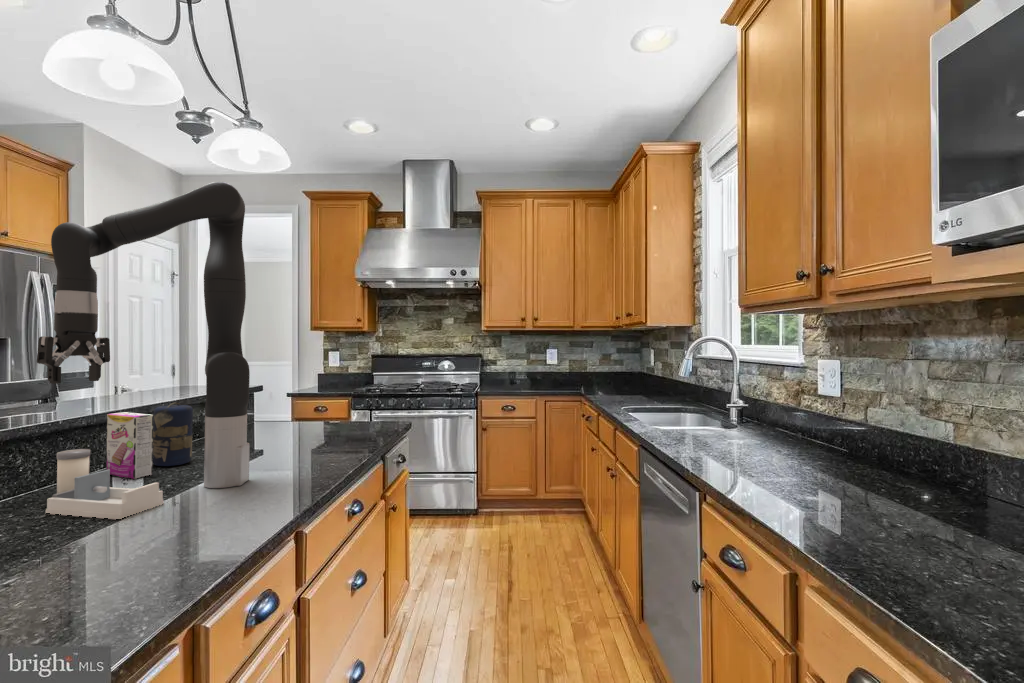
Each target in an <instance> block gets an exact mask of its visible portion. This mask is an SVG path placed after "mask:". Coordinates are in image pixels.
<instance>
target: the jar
mask: <svg viewBox="0 0 1024 683" xmlns="http://www.w3.org/2000/svg"><path fill="white" fill-rule="evenodd" d="M90 457H91V449H90V448H76V449H68V450H61V451H58V452H56V460H57V462H56V463H57V466H56V467H57V468H56V469H57V470H56V474H57V475H56V494H58V493H61V492H65V491H69V490H72V489H74V485H75V478H76V477H80V476H84V475H88V474H90Z"/></svg>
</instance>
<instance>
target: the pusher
mask: <svg viewBox="0 0 1024 683" xmlns="http://www.w3.org/2000/svg"><path fill="white" fill-rule="evenodd" d="M110 480H111V476H110V470H106V469H104V470H100V471H97V472H93V473H89V474H88V475H84V476H80V477H76V478H75V485H74V499H83V500H96V501H99V500H103V499H106V498H109V495H110V487H111V484H110V483H111V481H110Z"/></svg>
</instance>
